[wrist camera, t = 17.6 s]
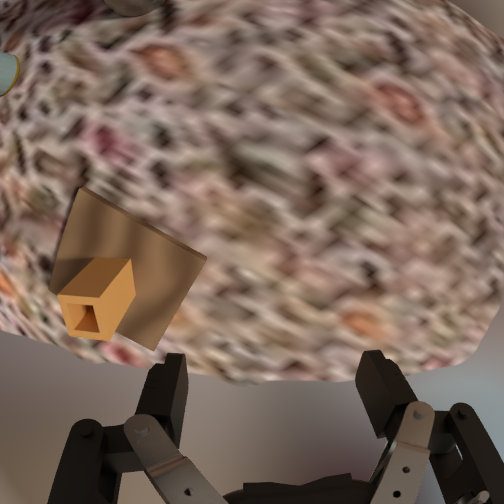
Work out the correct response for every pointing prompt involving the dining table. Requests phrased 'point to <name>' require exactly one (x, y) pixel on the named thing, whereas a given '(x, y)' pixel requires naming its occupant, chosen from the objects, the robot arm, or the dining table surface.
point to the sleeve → (98, 298)
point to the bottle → (8, 71)
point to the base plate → (142, 259)
